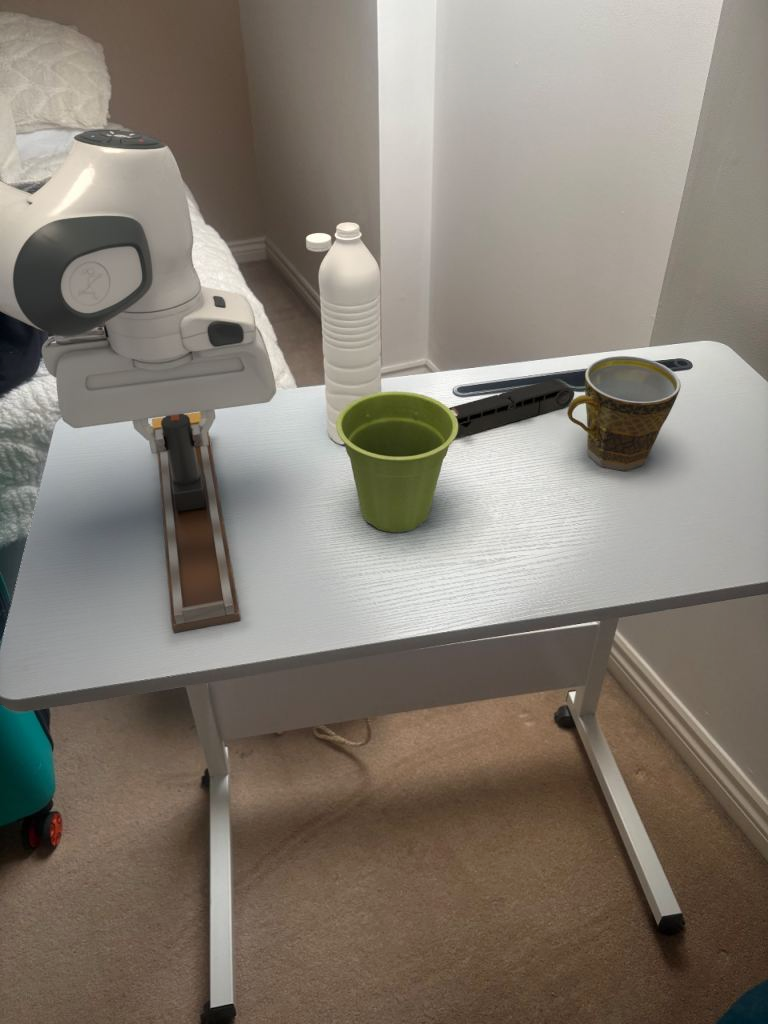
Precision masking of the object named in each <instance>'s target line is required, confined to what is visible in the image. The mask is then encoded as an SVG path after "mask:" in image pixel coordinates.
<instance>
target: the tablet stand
mask: <svg viewBox="0 0 768 1024" xmlns="http://www.w3.org/2000/svg"><path fill="white" fill-rule="evenodd" d="M574 399H575V390H574V389H573V388H572V387H571V386H570V385H568V384H567V383H566V382H565V381H563V380H562V379H560V378H553V379H551V380H546V381H542V382H537V383H534V384H530V385H528V386H524V387H520V388H515V389H512V390H508V391H505V392H502V393H500V394H494V395H491V396H487V397H483V398H480V399H476V400H472V401H469V402H464V403H461V404H458V405H454V406H450V407H448V408H449V409H450V410H451V411H452V412H453V413H454V415H455V417H456V418H457V421H458V432H457V435H456V438H455V439H458V438H461V437H465V436H468V435H472V434H476V433H479V432H483V431H486V430H489V429H493V428H496V427H500V426H503V425H507V424H509V423H510V424H511V423H513V422H517V421H521V420H524V419H527V418H535V417H537V416H540V415H544V414H548V413H551V412H554V411H558V410H562V409H565V408H566V407H569V406H570V404H571V402H572V401H573V400H574Z"/></svg>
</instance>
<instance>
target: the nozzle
mask: <svg viewBox="0 0 768 1024" xmlns="http://www.w3.org/2000/svg"><path fill="white" fill-rule="evenodd" d="M161 426H162V430H163V435H164V439H165V444H166V449H167V454H168V459H169V464H170V469H171V476H172V486H173V495H174V500H175V504H176V509H177V512H179V511H185V510H192V509H198V508H204V507H206V502H205V495H204V488H203V481H202V475H201V470H200V464H199V462H198V461H197V456H196V451H195V447H194V442H193V437H192V429H191V423H190V418H189V417H188V416H187V415H185V414H179V415H171V416H164V418H163V419H162V421H161Z"/></svg>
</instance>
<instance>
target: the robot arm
mask: <svg viewBox="0 0 768 1024" xmlns="http://www.w3.org/2000/svg"><path fill="white" fill-rule="evenodd" d="M70 144H71V145H70V149H69V152H68V153H67V156H66V157H65V159H64V161H63V162H62V164H61V165H60V167H58V169H57V170H56V172H55V174H53V175H52V176H51V178H50V179H49V180H48V181H47V182H45V184H44V185H43V186H41V187H40V188H38V190H36V191H35V192H33V193H30V192H27V191H24V190H22V189H19V188H17V187H14V186H12V185H10V184H9V183H7V182H4V181H3V180H0V312H1V313H3V314H5V315H7V316H9V317H11V318H13V319H15V320H18V321H20V322H21V323H24V324H27V325H28V326H31V327H32V328H35V329H37V330H40V331H42V332H45V333H48V334H51V335H54V336H51V337H49V338H48V339H47V340H46V341H44V343H43V344H42V347H41V356H42V359H43V363H44V367H45V369H46V371H47V372H48V373H49V374H50V375H51V376H52V377H54V378H55V381H56V383H55V384H56V394H57V401H58V406H59V411H60V415H61V419H62V421H63V422H64V423H66V424H67V425H68V426H70V427H71V428H73V429H82V428H89V427H96V426H104V425H111V424H119V423H127V422H132V425H133V429H134V430H135V431H136V432H137V433H138V434H139V435H141V436H142V437H143V438H144V439H145V440H146V441H147V442H149V446H150V452H151V454H158V453H160V452H166V451H167V449H166V444H165V439H164V435H163V430H162V429H160V430H155V429H154V428H153V427H152V424H151V423H149V419H155V418H162V417H166V416H171V415H179V414H191V413H198V412H200V414H201V420H200V422H199V424H196V425H191V429H192V437H193V442H194V447H201V446H208V445H209V443H208V436H207V432H210V429H211V428H212V427H213V426H212V425H213V423H214V422H215V419H216V418H217V417H216V412H215V411H216V410H221V409H222V410H223V409H230V408H238V407H245V406H251V405H259V404H267V403H270V402H271V401H272V399H274V397H275V395H276V394H277V385H276V379H275V374H274V371H273V367H272V362H271V358H270V355H269V352H268V349H267V346H266V343H265V340H264V337H263V334H262V332H261V331H260V329H259V327H258V326H257V325H256V318H255V317H256V316H255V313H254V311H253V307H252V305H251V303H250V302H249V300H248V298H247V297H246V295H244V294H242V293H238V292H235V291H229V290H228V291H227V290H222V289H217V288H212V287H207V286H202V283H201V280H200V277H199V274H198V272H197V270H196V268H195V265H194V261H193V247H194V231H193V226H192V219H191V214H190V208H189V203H188V197H187V192H186V189H185V185H184V181H183V177H182V174H181V170H180V168H179V164H178V162H177V160H176V158H175V156H174V153H173V152H172V150H171V148H169V146H168V145H167V144H165V143H163V141H161V140H160V139H158V138H155V137H154V136H150V135H147V134H144V133H140V132H135V131H131V130H129V131H126V130H120V129H103V128H101V129H92V130H85V131H83V132H81V133H78V134H76V135H74V137H72V139H71V143H70ZM103 324H105V325H103ZM101 325H103V326H101Z"/></svg>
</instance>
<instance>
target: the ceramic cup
mask: <svg viewBox="0 0 768 1024" xmlns="http://www.w3.org/2000/svg"><path fill="white" fill-rule="evenodd" d="M681 385H682V384H681V380H680V378H679V377H678V375H677V374H676V373H675V372H674V371H673V370H672V369H670V368H669V367H667V366H666V365H664V364H662V363H659V362H657V361H655V360H651V359H648V358H644V357H640V356H639V357H638V356H632V355H631V356H630V355H615V356H609V357H604V358H601V359H598V360H596V361H594V362H592V363H591V364H589V365H588V367H587V368H586V370H585V374H584V394H581V395H579V396H576V397H574V398H573V400H572V402H571V403H570V404H569V405H568V408H567V413H566V414H567V417H568V419H569V420H570V421H571V422H572V423H573V424H574V425H575V424H576V425H577V426H579V427H581V429H583V430H584V431H585V432H586V433H587V449H586V450H587V451H586V453H587V456H588V457H589V458H590V459H591V460H592V461H593V462H595V463H596V464H597V466H599V467H601V468H605V469H612V470H617V471H621V472H626V471H629V470H633V469H635V468H638V467H642V466H643V465H644V464H645V463H646V460H647V459H648V457H649V455H650V453H651V451H652V448H653V446H654V444H655V442H656V440H657V438H658V436H659V434H660V431H661V430H662V427H663V425H664V424H665V422H666V421H667V419H668V417H669V415H670V413H671V411H672V409H673V407H674V405H675V403H676V400H677V398H678V396H679V393H680V391H681V387H682V386H681ZM584 404H585V411H586V425H585V423H583V422H582V421H580V420H578V419H576V418H574V417H573V413H574V411H575V409H576V408H577V407H578V406H581V405H584Z"/></svg>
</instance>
